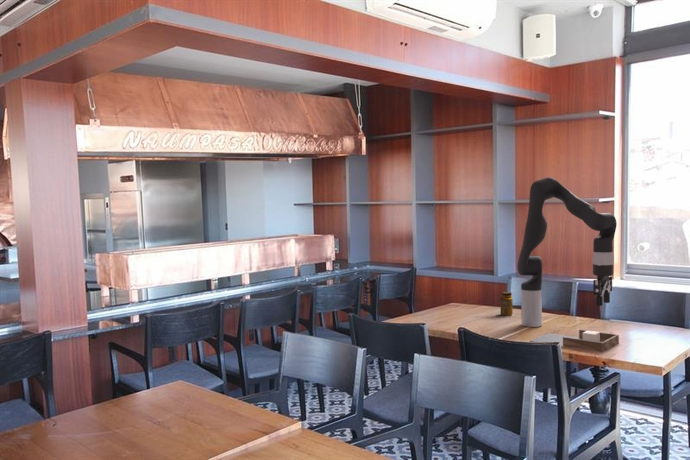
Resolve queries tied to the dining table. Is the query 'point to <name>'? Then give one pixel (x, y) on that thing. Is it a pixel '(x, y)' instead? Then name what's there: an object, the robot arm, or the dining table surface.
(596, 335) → the cream cube
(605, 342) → the tray
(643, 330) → the dining table surface
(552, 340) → the slate board
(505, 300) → the condiment
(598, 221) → the robot arm
